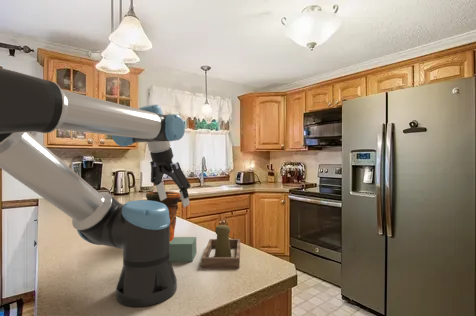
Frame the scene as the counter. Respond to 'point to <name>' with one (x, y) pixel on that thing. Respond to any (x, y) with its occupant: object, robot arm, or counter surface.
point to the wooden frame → (221, 261)
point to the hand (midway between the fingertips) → (174, 202)
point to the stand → (182, 249)
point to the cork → (222, 241)
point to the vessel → (168, 206)
